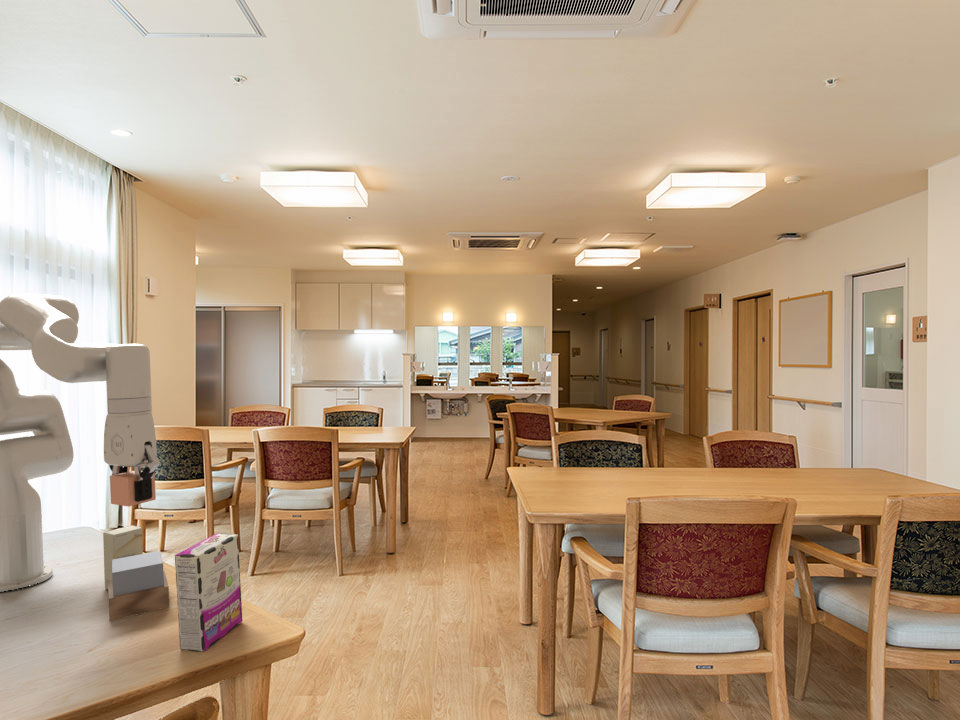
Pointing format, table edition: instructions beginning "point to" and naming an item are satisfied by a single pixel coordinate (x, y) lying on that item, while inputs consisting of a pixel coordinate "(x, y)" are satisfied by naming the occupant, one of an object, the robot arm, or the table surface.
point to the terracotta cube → (126, 489)
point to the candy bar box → (208, 591)
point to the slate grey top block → (137, 573)
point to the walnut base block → (137, 601)
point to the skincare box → (120, 547)
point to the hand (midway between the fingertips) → (133, 497)
